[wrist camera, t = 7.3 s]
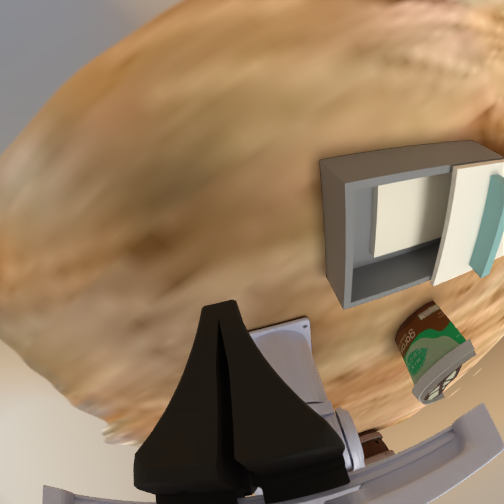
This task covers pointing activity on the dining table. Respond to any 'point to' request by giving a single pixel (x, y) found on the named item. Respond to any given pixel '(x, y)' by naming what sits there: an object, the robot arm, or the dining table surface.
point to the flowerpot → (373, 447)
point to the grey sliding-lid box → (388, 215)
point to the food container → (432, 351)
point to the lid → (472, 221)
